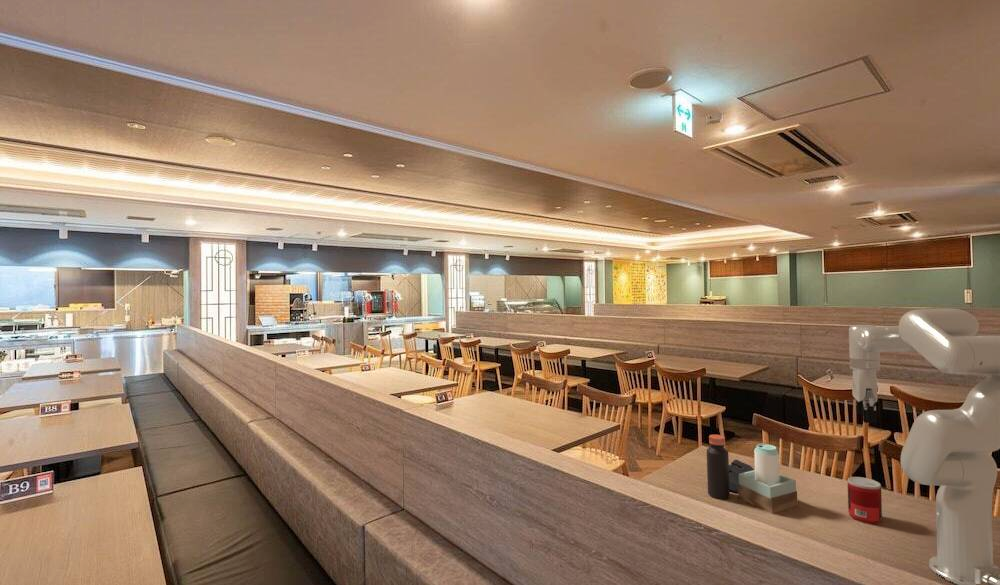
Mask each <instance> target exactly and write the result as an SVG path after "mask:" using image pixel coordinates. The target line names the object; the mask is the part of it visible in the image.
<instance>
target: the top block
mask: <svg viewBox="0 0 1000 585" xmlns="http://www.w3.org/2000/svg"><path fill="white" fill-rule="evenodd" d="M779 475H780V483H779V484H775V485H771V486H769V485H766V484H764V483H762V482H759V481H757V480H755V469H754V470H753V471H749V472H745V473H741V474H739V485H741V486H744V487H746V488H748V489H750V490H753V491H755V492H757V493H759V494H762V495H764V496H766V497H768V498H770V499H771V498H774V497H778V496H781V495H785V494H788V493H792V492H795V491H797V480H795V479H793V478H791V477H788V476H786V475H782V474H781V473H779Z"/></svg>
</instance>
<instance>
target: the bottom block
mask: <svg viewBox="0 0 1000 585" xmlns="http://www.w3.org/2000/svg"><path fill="white" fill-rule="evenodd" d="M737 495H738V500H741V501H744V502H746V503H748V504H750V505H752V506H755V507H757V508H758V509H761V510H763V511H765V512H768V513H770V514H772V515H773V514H775V513H779V512H782V511H784V510H787V509H790V508H793V507H796V506H798V491H797V490H796V491H795V492H792V493H788V494H785V495H781V496H778V497H774V498H771V499H770V498H768V497H766V496H764V495H762V494H759V493H757V492H755V491H753V490H750V489H748V488H746V487H744V486H741V485H738V493H737Z"/></svg>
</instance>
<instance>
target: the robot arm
mask: <svg viewBox="0 0 1000 585" xmlns="http://www.w3.org/2000/svg"><path fill="white" fill-rule="evenodd" d="M979 323H980V322H979V321H978V319H977V317H975V316H974V315H973V314H972V313H970V312H968V311H966V310H963V309H959V308H921V309H920V308H919V309H913V310H909V311H906V312H905V313H904V314H903V315H902V316H901V317H900V320H899V322H898V325H885V326H882V325H881V326H876V325H874V324H873V325H872V324H853V325H851V326H849V328H848V346H849V349H848V350H849V351H848V352H849V369H850V370H851V369H852V386H851V390H852V391H851V394H852V396H853V398H854V399H855V400H856V403H855V404H856V414H857V415H860V416H862V421H863V423H864V424H865V423H866V424H878V423H877V422H878V418H877V406H876V403H877V402H878V377H877V371H880V370H881V352H883V353H884V352H911V351H912V352H913V351H916V352H917V353H918V354H919V355H921V357H922V358H924V359H925V361H927V362H929V363H930V364H931V365H932V366H933V367H934V368H936V369H938V370H939V371H941V372H944V373H945V374H946V373H947V374H950V375H989V376H988V377H986V378H985V379H983V380H982V381H980V382H979V383H977V384H976V385H975V386H974V387H973V388H972V389H970V391H969V393H967V396H966V398H965V401H963V402H964V403H963V404H962V405H961V406H960V407H959V408H955V409H933V410H927V411H924V412H922V413H921V414H919V415H918V416H917V417H916V418H915V419H914V422H913V423H912V426H911V428H910V429H909V430H910V431H909V433H908V435H907V437H906V439H905V442H904V444H903V447H902V448H901V454H900V466H901V469H902V472H903V473H904V474H905V476H907V478H908V479H909V480H911V481H913V482H914V483H917V484H919V485H924V486H925V485H926V486H939V488H938V489H937V493H936V496H935V518H936V520H935V521H936V526H935V527H936V555H935V556H931V557H930V558H929V560H928V565H929V568H930V570H932V571H933V572H934V573H935V574H936V573H937V574H938V576H939V575H941V576H942V577H944V578H945V579H944V578H943V579H944V580H946V581H947V582H950V581H951V583H952V582H953V584H954V585H976V584H983V583H986V584H988V585H1000V567H999V566H998V565H995V564H994V558H993V557H994V554H993V553H994V552H993V550H994V549H993V524H992V523H993V521H992V520H993V514H992V513H993V494H994V490H995V489H994V488H995V484H996V482H997V478H998V477H997V476H998V466H997V463H996V461H995V459H994V458H993V456H992V455H991V454H990V453H993V452H996V451H999V450H1000V335H977V333H978V331H979V330H980V329H979V328H980V324H979ZM937 574H936V575H937ZM941 576H940V577H941ZM942 577H941V578H942Z"/></svg>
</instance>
